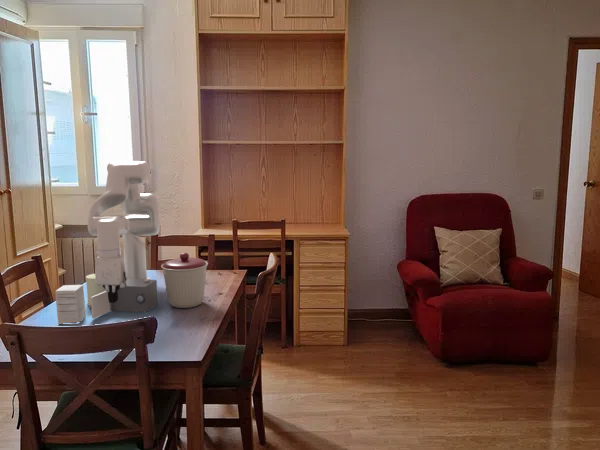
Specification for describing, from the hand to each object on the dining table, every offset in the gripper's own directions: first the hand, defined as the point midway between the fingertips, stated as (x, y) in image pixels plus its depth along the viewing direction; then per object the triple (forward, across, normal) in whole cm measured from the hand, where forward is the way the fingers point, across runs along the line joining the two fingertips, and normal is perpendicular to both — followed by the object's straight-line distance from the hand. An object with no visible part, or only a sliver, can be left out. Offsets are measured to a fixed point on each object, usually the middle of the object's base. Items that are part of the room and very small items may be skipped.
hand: (113, 301), depth 176 cm
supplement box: (+6, -13, -6) cm, 16 cm away
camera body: (+6, +2, +12) cm, 14 cm away
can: (+7, -15, +15) cm, 23 cm away
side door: (+6, -6, +2) cm, 9 cm away
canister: (+7, +20, +19) cm, 28 cm away
